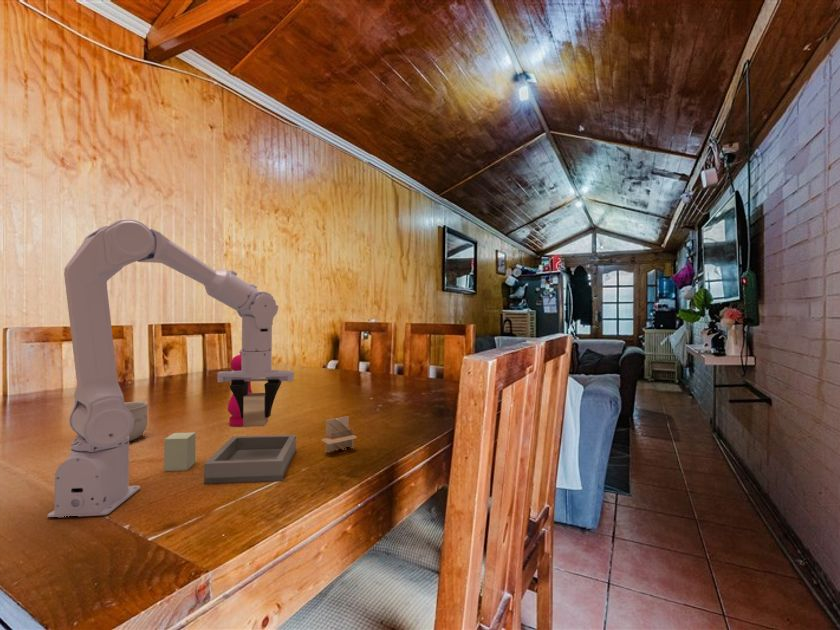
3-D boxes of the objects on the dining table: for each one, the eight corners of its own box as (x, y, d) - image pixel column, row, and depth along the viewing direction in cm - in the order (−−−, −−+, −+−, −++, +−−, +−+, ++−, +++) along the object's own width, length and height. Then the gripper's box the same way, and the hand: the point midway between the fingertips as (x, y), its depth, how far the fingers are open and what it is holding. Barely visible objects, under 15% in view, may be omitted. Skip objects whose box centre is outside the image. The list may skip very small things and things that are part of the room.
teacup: (117, 449, 89) (117, 412, 89) (76, 445, 91) (76, 409, 91) (169, 431, 102) (169, 399, 102) (132, 428, 105) (132, 397, 105)
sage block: (186, 470, 78) (187, 438, 78) (164, 471, 77) (164, 439, 77) (195, 462, 82) (195, 432, 82) (173, 463, 81) (173, 432, 81)
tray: (281, 480, 74) (281, 461, 74) (203, 483, 72) (204, 463, 72) (295, 450, 90) (295, 434, 90) (232, 452, 88) (232, 436, 88)
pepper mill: (227, 421, 113) (228, 347, 112) (255, 418, 116) (256, 347, 116) (227, 428, 106) (228, 350, 106) (257, 425, 109) (258, 349, 109)
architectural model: (357, 453, 90) (357, 419, 90) (328, 460, 85) (328, 424, 85) (348, 449, 93) (349, 416, 92) (320, 456, 88) (320, 421, 88)
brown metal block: (264, 426, 83) (264, 396, 83) (243, 426, 83) (243, 396, 83) (268, 421, 87) (268, 392, 87) (248, 421, 87) (248, 392, 87)
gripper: (296, 348, 90) (295, 411, 90) (225, 348, 88) (224, 412, 88) (291, 351, 83) (290, 419, 83) (214, 351, 81) (213, 421, 81)
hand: (256, 416), depth 85 cm, fingers closed on brown metal block, 4 cm apart
